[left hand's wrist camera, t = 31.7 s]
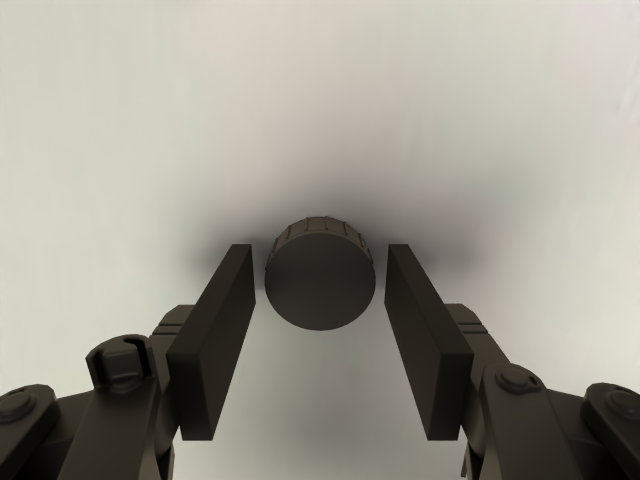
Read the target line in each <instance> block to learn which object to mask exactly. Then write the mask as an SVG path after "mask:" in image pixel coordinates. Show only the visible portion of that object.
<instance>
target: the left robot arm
mask: <svg viewBox="0 0 640 480" xmlns="http://www.w3.org/2000/svg"><path fill="white" fill-rule="evenodd" d="M255 304H256V300H255V287H254V274H253V261H252V249H251V244H232V246H231V247H230V249H229V250H228V252H227V254H226V255H225V257H224V259H223V260H222V262H221V264H220V265H219V267H218V268H217V270H216V272H215V273H214V275H213V277H212V278H211V280H210V282H209V283H208V285H207V286H206V288H205V290H204V291H203V293H202V295H201V296H200V298H199V300H198V301H197V303H196V305H178V306H176V307H175V308H174V309H172V310H171V311H169V312H168V313H166V314H165V316H164V317H163V319H162V320H161V321H160V323H159V325H158V326H157V327H156V328H155V330H154V331H153V333H152V335H150V337H149V338H147V337H146V336H143V335H138V334H130V335H122V336H118V337H114V338H112V339H109V340H107V341H105V342H103V343H101V344H99V345H98V346H97V347H95V348H94V349H92V350H91V351H90V353H89V354H88V355H87V356H86V358H85V359H86V362H87V365H88V369H89V372H90V375H91V379H92V382H93V385H94V390H91V391H88V392H84V393H80V394H76V395H71V396H67V397H63V398H58V399H57V398H56V396H55V393H54V390H53V389H52V388H50V387H49V386H48V385H41V384H35V385H29V386H24V387H21V388H18V389H15V390H12V391H10V392H8V393H6V394H4V395H2V396H0V480H172V478H173V468H174V458H175V454H174V447H173V442H172V441H173V439H174V436H175V434H176V432H177V429H178V427H179V425H180V430H181V435H182V440H183V441H212V440H213V436H214V433H215V430H216V427H217V424H218V421H219V418H220V414H221V411H222V408H223V405H224V402H225V399H226V395H227V392H228V389H229V386H230V383H231V380H232V377H233V373H234V370H235V367H236V364H237V361H238V358H239V354H240V351H241V348H242V345H243V342H244V339H245V335H246V332H247V329H248V326H249V323H250V320H251V317H252V313H253V310H254V307H255ZM384 304H385V307H386V310H387V313H388V317H389V320H390V323H391V326H392V329H393V332H394V335H395V339H396V342H397V345H398V348H399V351H400V354H401V358H402V361H403V364H404V367H405V370H406V373H407V376H408V380H409V383H410V386H411V389H412V392H413V395H414V399H415V402H416V405H417V408H418V411H419V414H420V418H421V421H422V424H423V427H424V430H425V433H426V436H427V440H428V441H457V440H458V435H459V430H460V425H462V428H463V430H464V432H465V434H466V437H467V439H468V442H467V447H466V451H465V456H464V461H463V465H462V471H461V477H464V478H466V473H467V477H468V480H640V395H639V394H637V393H636V392H634V391H632V390H630V389H627V388H625V387H621V386H618V385H615V384H609V383H596V384H592V385H591V386H589V387H588V388H587V390H586V393H585V396H584V397H580V396H575V395H571V394H567V393H562V392H558V391H554V390H550V389H547V388H546V387H545V385H544V384H543V382H542V381H541V379H540V378H538V377H537V376H536V375H535V374H534V373H532V372H531V371H529V370H527V369H525V368H523V367H521V366H519V365H516V364H512V363H510V361H509V360H508V358H507V357H506V356H505V354H504V353H503V352H502V350H501V349H500V347H499V346H498V345H497V343H496V342H495V341H494V339H493V338H492V336H491V335H490V334H488V331H487V330H486V328H485V327H484V325H482V323H481V321H480V320H479V319H478V317H477V316H476V314H475V313H474V312H473V311H471V310H470V309H468V308H467V307H465V306H464V305H463V304H444V303H443V301H442V300H441V298H440V296H439V295H438V293H437V291H436V290H435V288H434V286H433V285H432V283H431V282H430V280H429V278H428V277H427V275H426V273H425V272H424V270H423V268H422V267H421V265H420V264H419V262H418V260H417V259H416V257H415V255H414V254H413V252H412V250H411V249H410V247H409V245H408V244H389V249H388V262H387V274H386V287H385V300H384Z"/></svg>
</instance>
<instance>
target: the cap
mask: <svg viewBox="0 0 640 480" xmlns="http://www.w3.org/2000/svg"><path fill="white" fill-rule="evenodd" d="M372 264H373V260H372V257H371V254H370V251H369V248H367V247H366V244H365V242H364V240H363V239H362V237H361V234H360V233H359V234H358V233H357V232H356V231H355V230H354V229H353V228H352V227H350V226H349V225H347V224H346V222H341V221H339V220H336V219H333V218H327V217H326V216H325V217H313V218H306V219H304V220H301V221H299V222H297V223H295V224H293V225H291V226H290V225H289V226H288V228H287V229H286V230H285V231H284V232H283V233H282V234H281V235H280V236H279V238H276V240H275V244H274V247H273V250H272V253H271V254H270V255H269V259H268V262H267V265H266V268H265V270H266V273H265V290H266V294H267V297H268V299H269V301H270V303H271V305H272V306H273V308H274V309H275V311H276V312H277V313H278V314H279V315H280V316H281V317H282V318H284V319H285V320H287V321H288V322H290V323H291V324H293V325H295V326H298V327H301V328H304V329H308V330H317V331H323V330H332V329H336V328H339V327H342V326H345V325H347V324H349V323H351V322H352V321H354V320H355V319H356V318H358V317H359V316H360V315H361V314H362V313H363V312H364V311H365V310H366V308H367V307H368V305H369V304H370V302H371V300H372V297H373V294H374V291H375V284H376V283H375V272H374V268H373V265H372Z"/></svg>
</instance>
